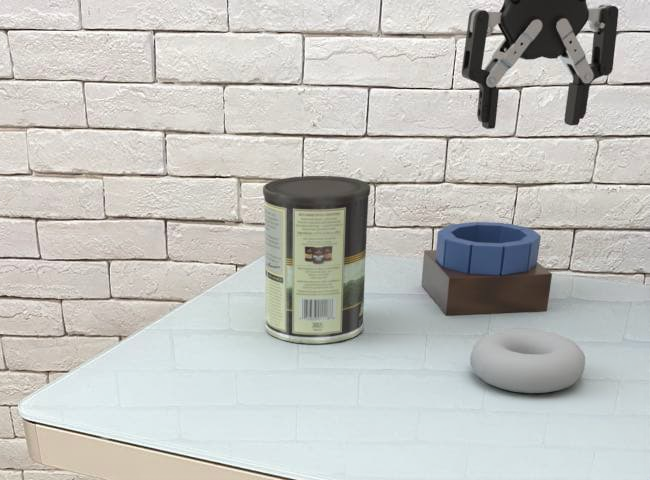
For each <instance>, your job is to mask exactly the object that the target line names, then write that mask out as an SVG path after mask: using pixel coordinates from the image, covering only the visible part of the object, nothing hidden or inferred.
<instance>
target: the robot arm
mask: <svg viewBox="0 0 650 480" xmlns="http://www.w3.org/2000/svg"><path fill="white" fill-rule="evenodd" d="M467 21H468V22H467V29H466V36H465V44H464V49H463V50H464V51H463V57H462V65H461V76H462V77H463V78H464V79H467V80H470V81H472V82H475V84H477V85H478V99H477V112H476V117H477V120H478V121H479V122H481V126H482V128H484V129H486V130H493V129H495V128H496V125H497V123H496V122H497V115H498V114H497V112H498V103H499V93H500V88H499V87H497V85H498V84H499V83H500V81H501V80H502V79H503V77H504V76H505V75H506V73H507V72H508V70H510V69H511V68H513V66H515V64H516V63H517V62H518V60H519V59H522V60H525V61H528V60H529V61H531V60H536V59H539V58H545V59H549V60H553V59H555V60H556V59H558V57H559V59H560V60H561V62H562V63H563V64H564V65H565V67H566V69H567V71H568V72H569V74H570V76H571V77H572V82H569V83H568V89H567V96H566V105H565V112H564V119H563V120H564V124H565V125H568V126H579V124H580V120H583V119H584V117H585V115H586V114H587V108H588V100H589V94H590V86H591V84H592V82H593V81H595V80H597V79H598V78H601V77H604V76H605V77H606V76H609V75H610V74H611V73H613V69H614V60H615V51H616V42H617V41H616V40H617V30H618V21H619V8H618V7H617V6H616V5H612V4H601V5H599V6H597V7H590V8H588V4H587V0H503V4H502V6H501V8H500V10H499V11H487V10H483V9H478V8H475V9H472V10H471V11H470V13H469V15H468V20H467ZM587 23H589V29H590V31H591V32H593V36H592V37H593V39H592V49H591V58H590V59H591V60H590V63H589V62H588V60H587V58H586V53H585V51H584V49H583V48H582V46H581V44H580V42H579V40H578V38H577V37H578V35H579V34H580V32H581V31H582V30H583V28H584V27H585V25H586V24H587ZM496 26H498V28H499V29H500V31H501V33H502V35H503V37H504V39H503V40H502V42H501V43H500V44H499V45H498V47H497V48H496V50H495V51H494V52H493V54H492V57H491V59H490V60H489V62H488V63H487V64H486V66H485V67H484V68H483V64H484V63H483V62H484V55H485V49H486V42H487V37H489V36H491V35H492V34H493V32H494V28H495V27H496ZM482 68H483V69H482Z"/></svg>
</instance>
